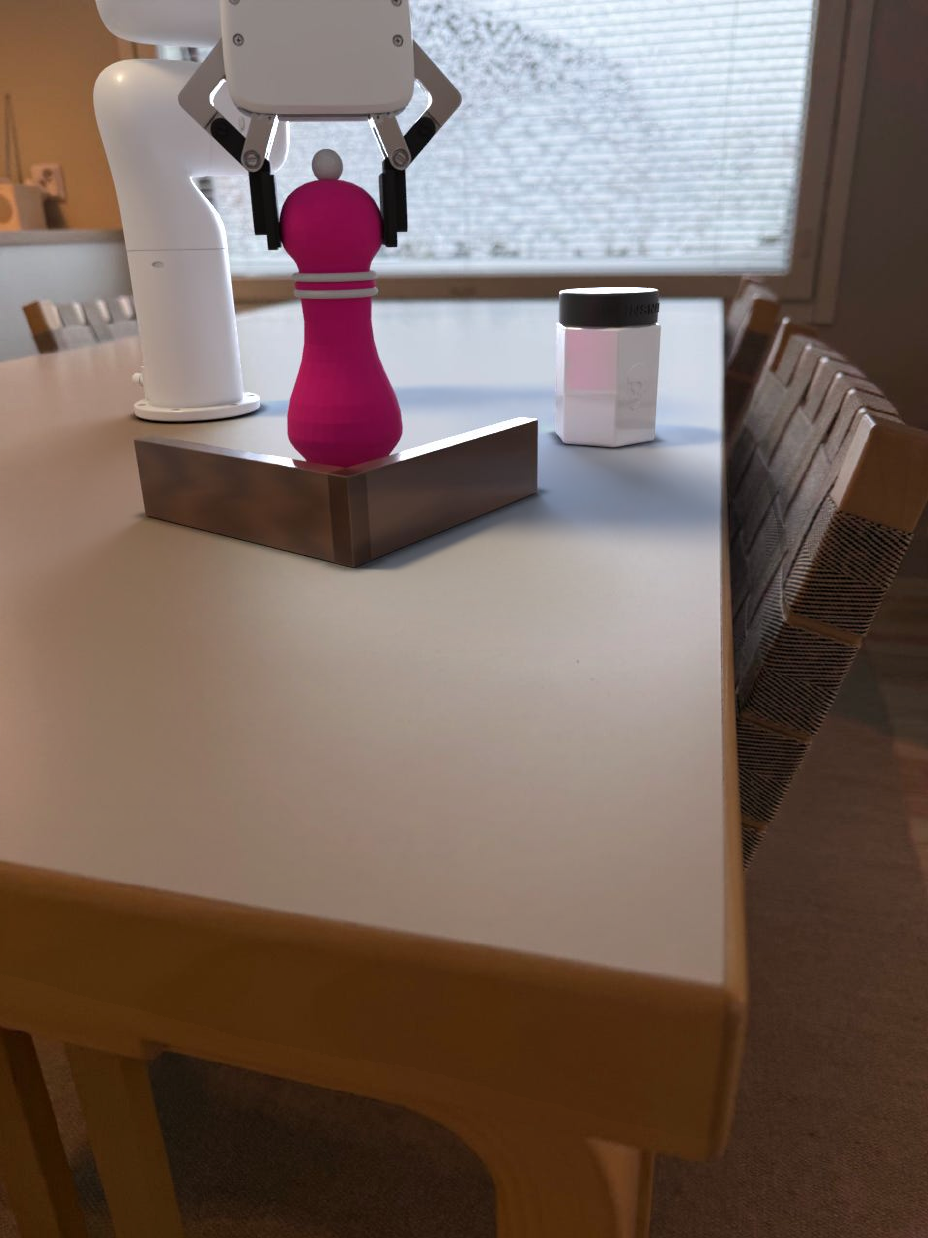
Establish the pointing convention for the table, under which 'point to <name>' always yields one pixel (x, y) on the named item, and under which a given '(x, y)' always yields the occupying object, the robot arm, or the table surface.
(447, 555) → the table surface
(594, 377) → the jar
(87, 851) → the table surface
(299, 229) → the pepper mill
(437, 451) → the corner stop
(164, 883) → the table surface
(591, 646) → the table surface
